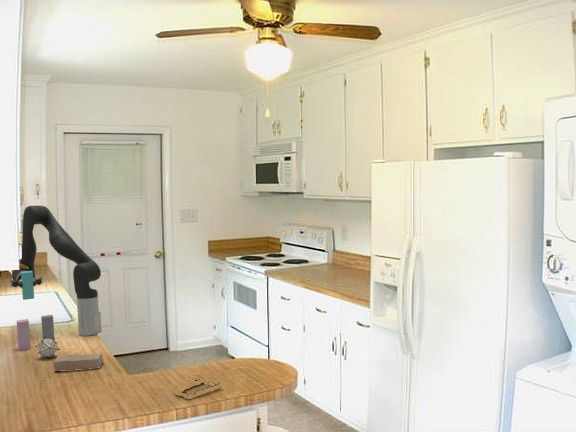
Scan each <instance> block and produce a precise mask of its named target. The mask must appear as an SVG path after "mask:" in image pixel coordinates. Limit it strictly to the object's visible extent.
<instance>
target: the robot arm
mask: <svg viewBox="0 0 576 432" xmlns="http://www.w3.org/2000/svg"><path fill="white" fill-rule="evenodd" d="M35 225H41V226H43V227H44V228H45V229H46V231H47V232H48V240H49V244H50V245H51V247H52V249H54V251H55V252H57V254H58V255H60V256H62V257H63V258H65V259H67V260H69V261H72V262H73V263H75V264H76V265H75V266H74V268H73V272H72V275H73V278H72V279H73V285H74V291H75V295H76V302H77V303H76V305H77V320H78V321H77V322H78V326H77V327H78V335H79V336H83V337H87V336H88V337H89V336H96V335H98V334H100V333H103V332H102V330H103V329H102V315H101V314H102V313H101V311H100V310H99V296H98V295H99V292H98V290H97V289H94V288H92V287H90V283H91V282H95V281H98V280H99V279H100V278H101V276H102V272H101V268H100V266H99V264H98V263H97V262H96V261H94V259H92V258H91V257H90V256H89V255H88V254H87V253H86V252H85V251H84V250H83V249H82V248H81V247H80V246H79V245H78V243H76V242H75V240H74V239H73V238H72V237H71V235H69V233H67V231H66V230H65V229H64V227H62V225H61V224H60V223H59V222H58V220H57V219H56V217H55V216H54V215H53V213H52V211H50V209H49V208H48V207H47V206H45V205H28V206H26V207H25V208H24V211H23V214H22V235H21V236H22V237H21V238H22V241H21V247H22V259H21V261H20V264H21V265H23V266H26V267H28V268H26V267H25V268H24V267H19V268H20V270H15V271H13V270H12V271H11V280H10V281H9V282H10V283H9V284H10V287H13V288H17V287H19V288H21V289H22V288H23V284H22V279H21V272H25V271H32V272H33V286H34V287H36V286H37V285H38V286H40V285H42V284H43V282H44V281H43V277H42V276H40V277H38V278H36V271H35V259H36V256H37V255H36V254H37V243H36V241H35V238H34V237H35V236H34V233H33V231H34V227H35Z"/></svg>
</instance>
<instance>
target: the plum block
mask: <svg viewBox="0 0 576 432" xmlns="http://www.w3.org/2000/svg"><path fill="white" fill-rule="evenodd" d="M29 322H30V321H29V319H28V318H26V319H18V320H16V332H17V333H16V334H17V347H18V351H24V350H30V349H31V338H30V337H31V336H30V323H29Z"/></svg>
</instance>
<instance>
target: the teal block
mask: <svg viewBox="0 0 576 432" xmlns="http://www.w3.org/2000/svg"><path fill="white" fill-rule="evenodd" d="M21 279H22V284H23V288H21V289H22V290H21V291H22V292H21V293H22V300H34V299H35V290H34V287H35V286H33V272H32V271H25V272H21Z"/></svg>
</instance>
